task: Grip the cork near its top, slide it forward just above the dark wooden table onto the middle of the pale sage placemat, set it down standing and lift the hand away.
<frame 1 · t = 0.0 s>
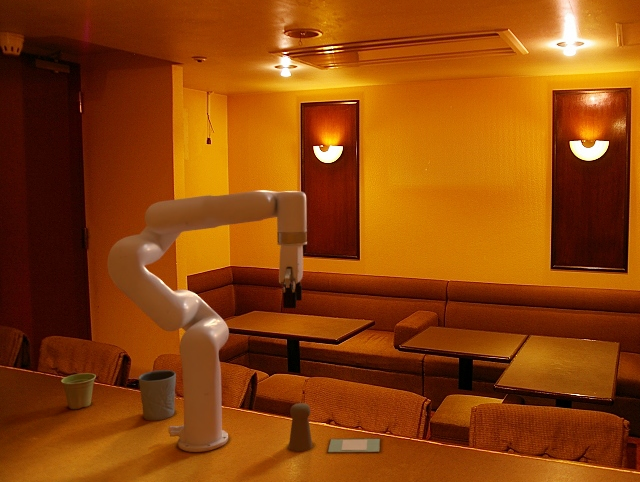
hand: (292, 304, 158), 37 cm above the counter, tool pointing down, fingers open, 9 cm apart
plant pot: (79, 406, 186), on the counter
cork: (300, 447, 157), on the counter
placemat: (354, 445, 157), on the counter
grey cup: (158, 415, 178), on the counter
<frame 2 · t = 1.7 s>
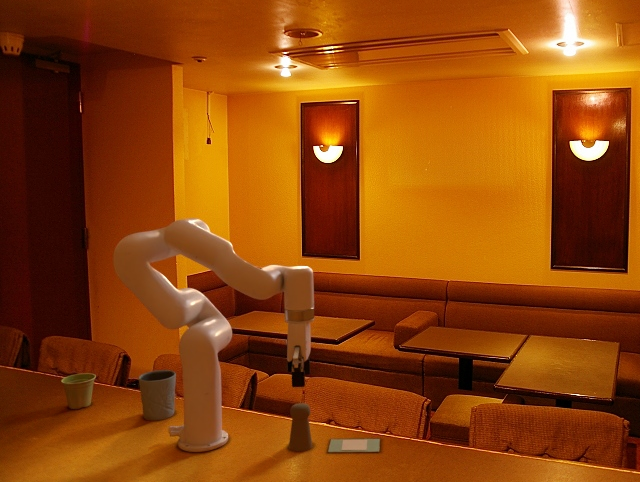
hand: (301, 380, 156), 17 cm above the counter, tool pointing down, fingers open, 9 cm apart
nothing on the counter moved.
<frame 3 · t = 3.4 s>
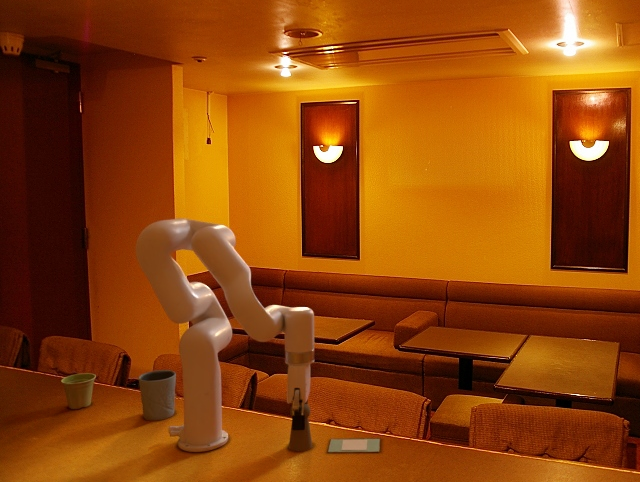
hand: (300, 424, 157), 6 cm above the counter, tool pointing down, fingers closed on cork, 5 cm apart
cork: (300, 447, 157), on the counter, touching gripper
everything else where it was.
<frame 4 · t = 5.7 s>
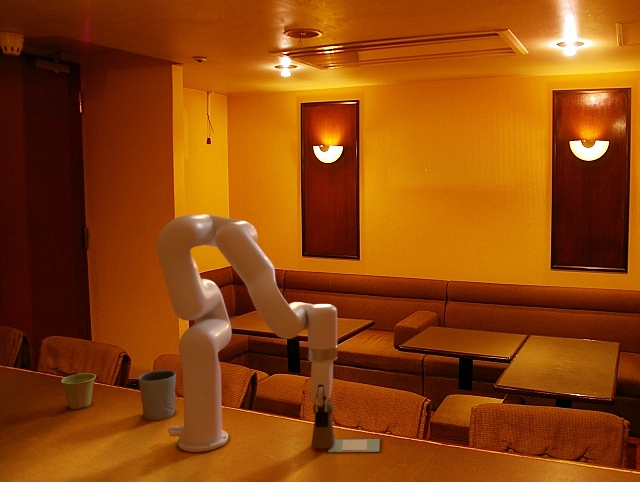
hand: (323, 421, 157), 7 cm above the counter, tool pointing down, fingers closed on cork, 5 cm apart
cork: (323, 443, 157), point 1 cm above the counter, touching gripper
everything else where it was.
when the fingers open (6 cm above the counter, at t = 8.3 s): cork stays where it is, resting on placemat.
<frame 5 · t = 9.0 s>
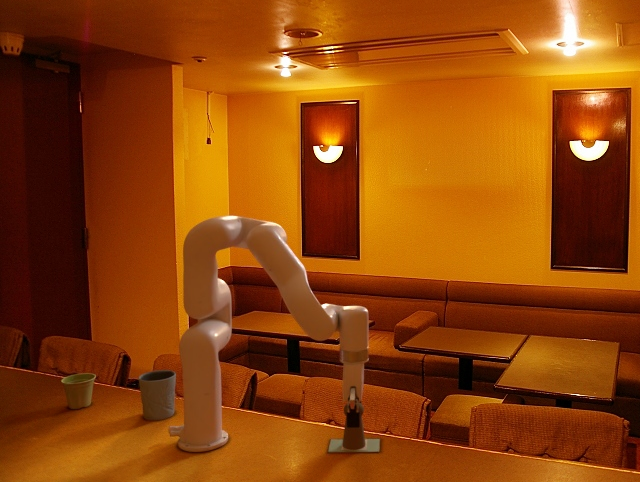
hand: (354, 419, 157), 7 cm above the counter, tool pointing down, fingers open, 9 cm apart
cork: (354, 445, 157), resting on placemat
everything else where it was.
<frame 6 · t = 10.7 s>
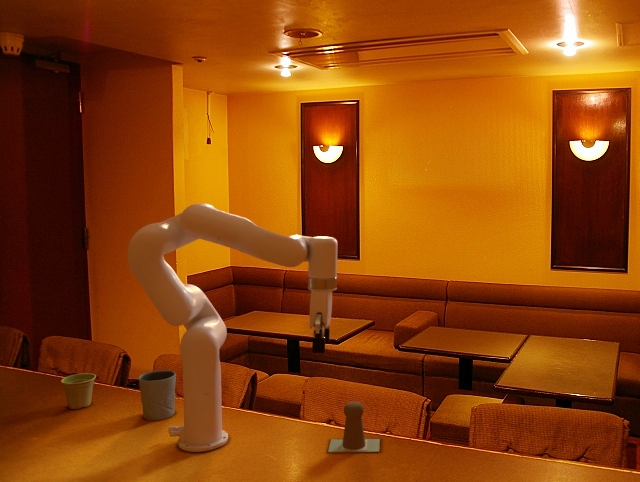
hand: (321, 347, 161), 25 cm above the counter, tool pointing down, fingers open, 9 cm apart
nothing on the counter moved.
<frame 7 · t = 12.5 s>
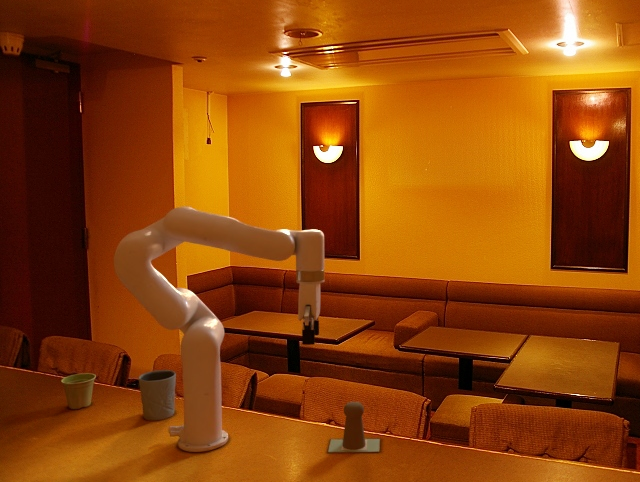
hand: (310, 339, 163), 26 cm above the counter, tool pointing down, fingers open, 9 cm apart
nothing on the counter moved.
at the end: cork inside the target area (0.4 cm from its centre), resting on placemat; cork tilted 0°; the gripper is holding nothing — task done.
